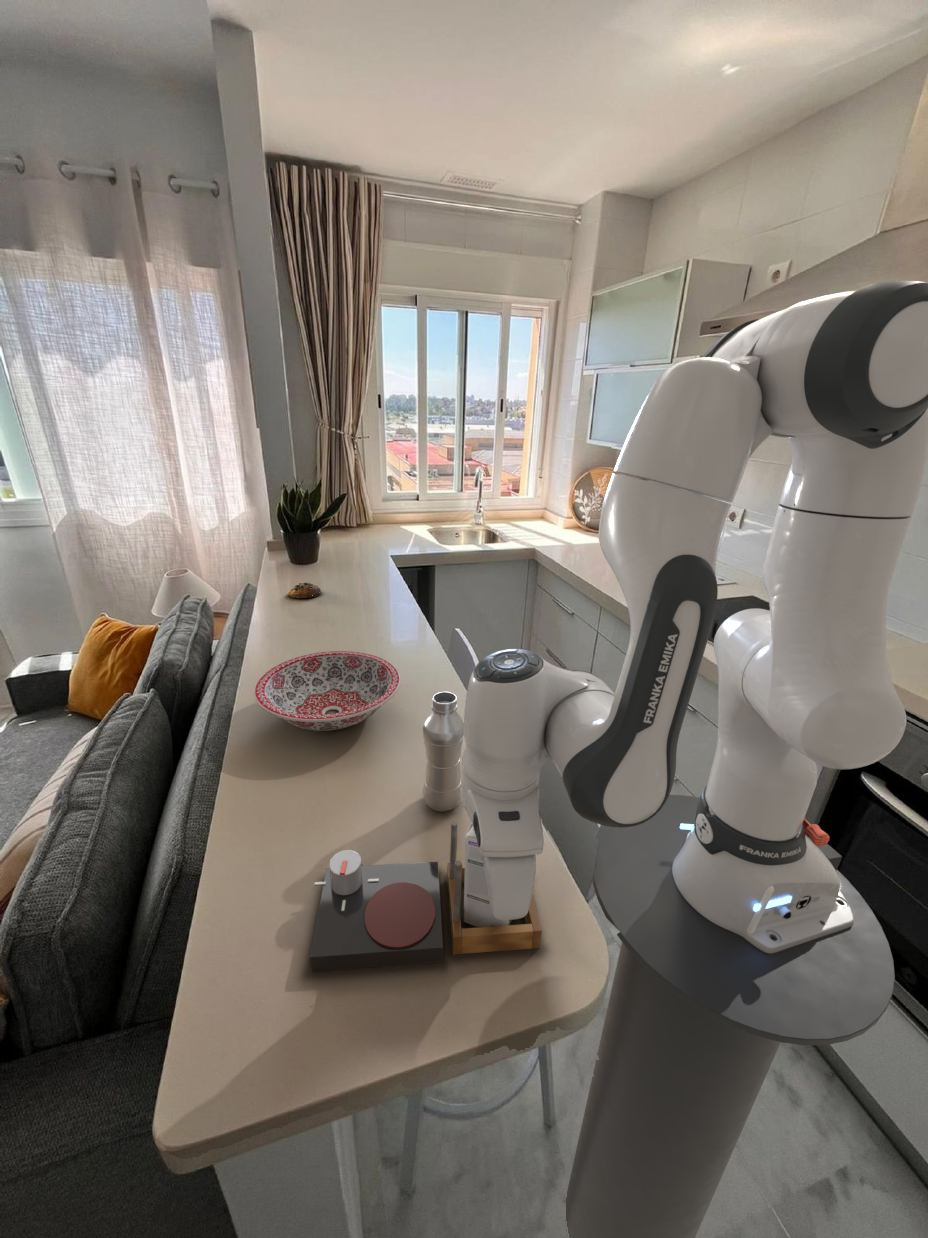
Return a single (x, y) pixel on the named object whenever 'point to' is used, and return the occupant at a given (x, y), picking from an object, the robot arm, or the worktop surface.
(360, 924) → the hob
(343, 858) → the hob knob
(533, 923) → the brown wooden holder
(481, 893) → the syrup box
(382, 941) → the hotplate
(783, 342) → the robot arm
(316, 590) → the bread roll
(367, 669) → the ceramic bowl
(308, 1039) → the worktop surface
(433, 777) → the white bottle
